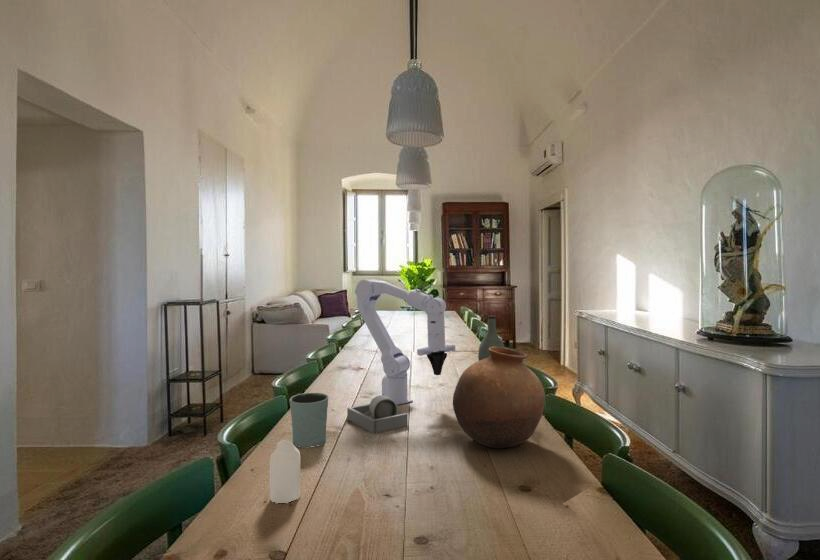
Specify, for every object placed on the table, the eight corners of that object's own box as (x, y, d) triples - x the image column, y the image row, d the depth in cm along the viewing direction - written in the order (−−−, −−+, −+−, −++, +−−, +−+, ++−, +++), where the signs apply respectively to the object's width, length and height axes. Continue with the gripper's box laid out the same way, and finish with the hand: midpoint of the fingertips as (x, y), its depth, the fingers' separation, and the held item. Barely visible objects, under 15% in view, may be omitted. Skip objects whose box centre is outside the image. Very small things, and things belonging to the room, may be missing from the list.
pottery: (440, 436, 131) (439, 345, 131) (511, 425, 140) (510, 339, 140) (485, 467, 110) (484, 358, 110) (565, 451, 119) (564, 351, 119)
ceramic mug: (391, 415, 151) (390, 391, 150) (398, 423, 143) (397, 397, 143) (357, 419, 147) (357, 395, 147) (363, 428, 140) (362, 401, 139)
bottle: (494, 411, 154) (493, 317, 153) (472, 405, 161) (471, 315, 160) (512, 405, 160) (511, 315, 160) (490, 400, 167) (489, 313, 166)
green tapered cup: (315, 433, 135) (314, 390, 135) (336, 442, 128) (336, 397, 128) (283, 442, 128) (282, 397, 128) (303, 452, 121) (302, 404, 121)
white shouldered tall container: (297, 432, 100) (302, 440, 95) (298, 489, 101) (303, 500, 95) (267, 436, 98) (271, 445, 93) (268, 494, 98) (272, 507, 93)
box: (347, 419, 147) (347, 407, 147) (380, 412, 154) (379, 401, 154) (373, 433, 134) (373, 421, 134) (407, 425, 141) (407, 413, 140)
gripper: (425, 337, 153) (426, 379, 154) (460, 333, 161) (461, 373, 162) (413, 335, 159) (414, 376, 159) (447, 331, 167) (448, 370, 168)
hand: (437, 374), depth 161 cm, fingers closed
